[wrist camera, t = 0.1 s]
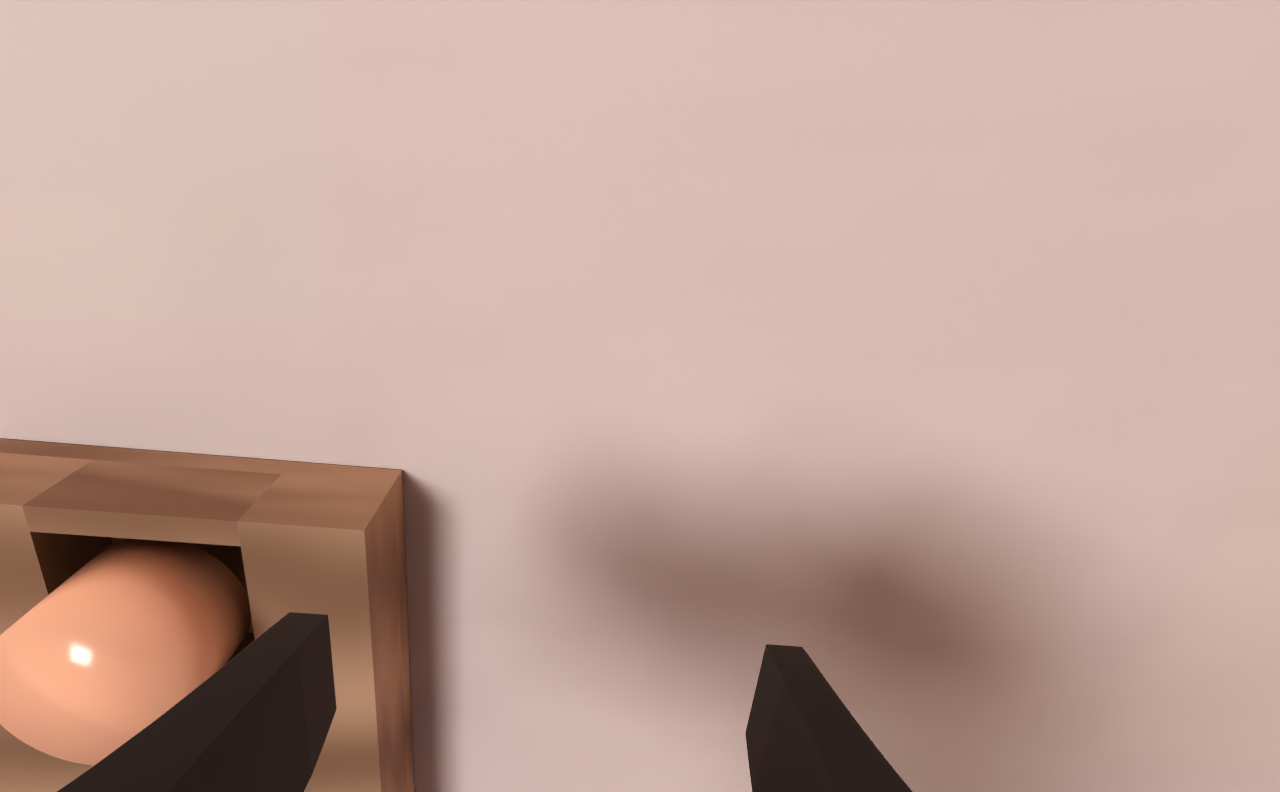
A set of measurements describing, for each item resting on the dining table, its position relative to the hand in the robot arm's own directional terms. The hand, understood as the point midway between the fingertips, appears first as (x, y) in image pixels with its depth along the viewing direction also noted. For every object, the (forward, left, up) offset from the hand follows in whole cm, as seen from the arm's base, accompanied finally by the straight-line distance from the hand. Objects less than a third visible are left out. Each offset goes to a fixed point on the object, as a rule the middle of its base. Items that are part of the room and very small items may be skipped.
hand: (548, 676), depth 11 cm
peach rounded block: (-6, +11, -7) cm, 15 cm away
